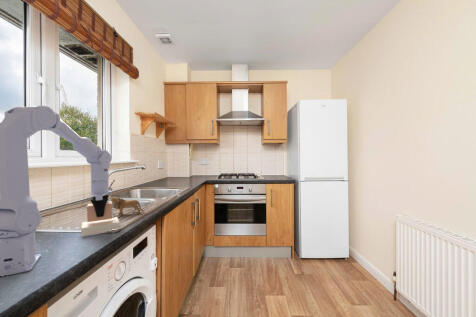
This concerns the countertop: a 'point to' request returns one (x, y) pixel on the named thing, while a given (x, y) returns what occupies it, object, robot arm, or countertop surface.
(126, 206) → the lion figurine
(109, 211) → the terracotta brick
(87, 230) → the cream base brick
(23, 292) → the countertop surface
